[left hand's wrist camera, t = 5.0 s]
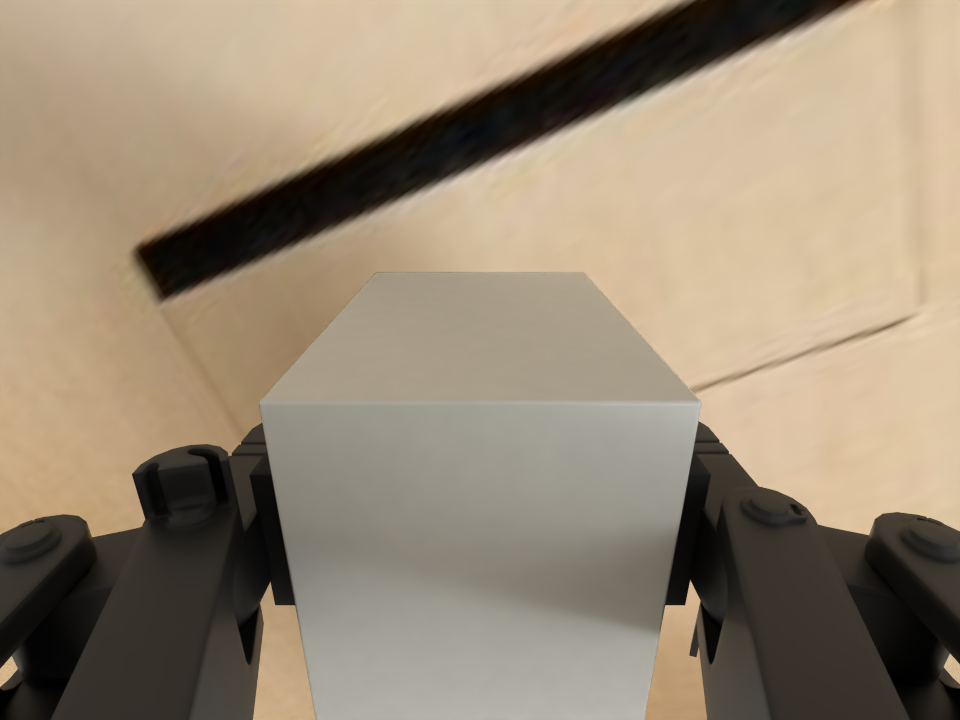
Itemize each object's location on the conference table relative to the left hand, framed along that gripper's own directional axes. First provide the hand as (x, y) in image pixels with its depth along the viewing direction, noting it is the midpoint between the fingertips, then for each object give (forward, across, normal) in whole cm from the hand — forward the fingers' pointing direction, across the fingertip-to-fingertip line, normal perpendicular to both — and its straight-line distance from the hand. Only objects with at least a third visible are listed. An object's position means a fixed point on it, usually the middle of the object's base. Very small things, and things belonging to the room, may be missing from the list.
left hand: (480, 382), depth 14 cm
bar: (+1, 0, -9) cm, 9 cm away
